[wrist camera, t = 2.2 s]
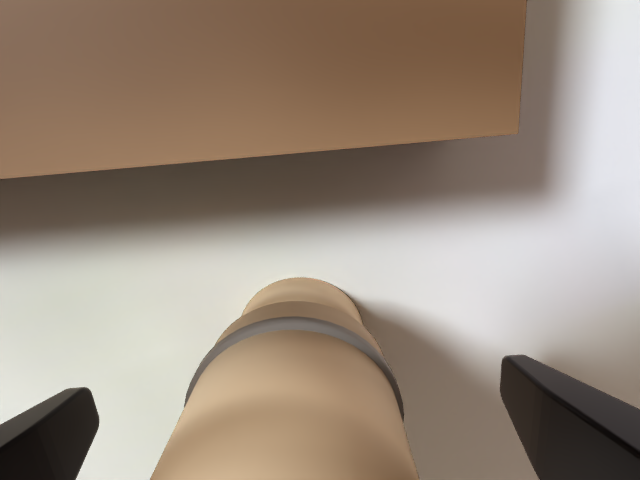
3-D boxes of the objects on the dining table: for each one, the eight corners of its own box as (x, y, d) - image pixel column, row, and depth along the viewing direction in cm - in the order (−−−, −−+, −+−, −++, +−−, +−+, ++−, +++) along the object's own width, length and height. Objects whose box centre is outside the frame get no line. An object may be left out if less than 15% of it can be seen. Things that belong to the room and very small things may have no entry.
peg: (381, 394, 11) (538, 1060, 3) (236, 404, 11) (36, 1076, 3) (374, 256, 10) (607, 779, 2) (212, 269, 10) (-204, 819, 2)
